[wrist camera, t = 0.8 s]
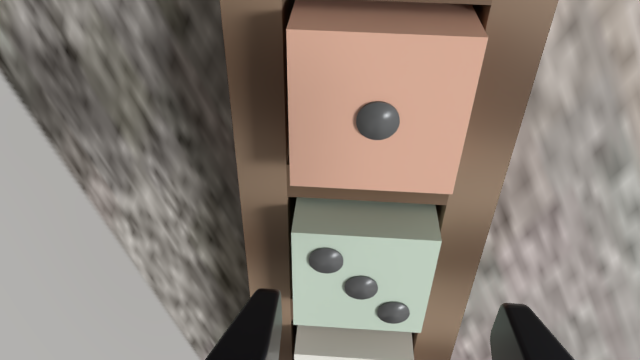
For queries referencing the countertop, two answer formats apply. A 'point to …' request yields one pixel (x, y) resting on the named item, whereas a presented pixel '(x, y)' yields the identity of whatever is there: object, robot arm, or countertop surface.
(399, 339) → the two dot button
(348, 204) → the three dot button
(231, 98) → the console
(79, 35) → the countertop surface
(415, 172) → the one dot button
